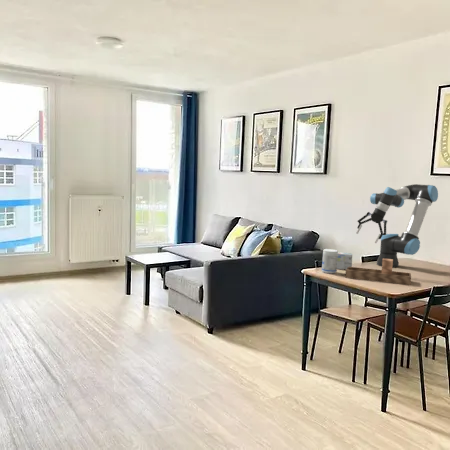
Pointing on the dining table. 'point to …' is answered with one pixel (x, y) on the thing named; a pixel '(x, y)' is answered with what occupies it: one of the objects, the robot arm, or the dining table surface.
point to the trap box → (378, 275)
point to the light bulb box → (344, 260)
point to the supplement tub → (329, 261)
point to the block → (387, 266)
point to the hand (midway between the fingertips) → (366, 238)
